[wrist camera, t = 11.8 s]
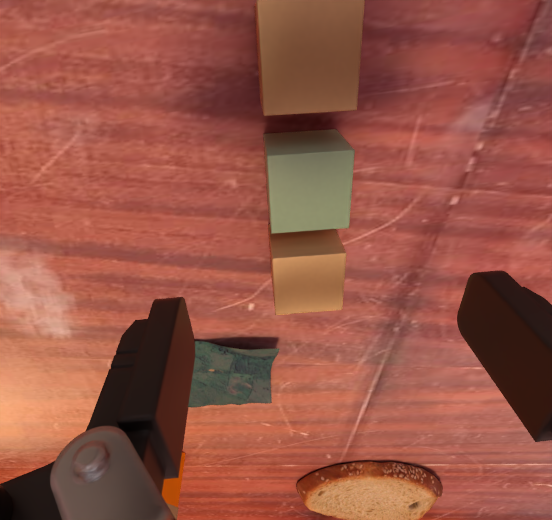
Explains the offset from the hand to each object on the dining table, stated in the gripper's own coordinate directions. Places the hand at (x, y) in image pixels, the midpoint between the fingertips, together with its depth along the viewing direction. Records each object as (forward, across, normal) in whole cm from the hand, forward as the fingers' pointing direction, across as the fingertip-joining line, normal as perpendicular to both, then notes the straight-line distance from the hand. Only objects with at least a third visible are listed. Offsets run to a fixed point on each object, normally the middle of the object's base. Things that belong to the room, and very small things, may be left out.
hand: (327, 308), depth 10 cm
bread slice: (+17, -11, +50) cm, 54 cm away
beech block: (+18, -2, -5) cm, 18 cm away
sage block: (+17, -2, +2) cm, 18 cm away
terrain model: (+17, +8, +22) cm, 29 cm away
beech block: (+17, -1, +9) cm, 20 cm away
